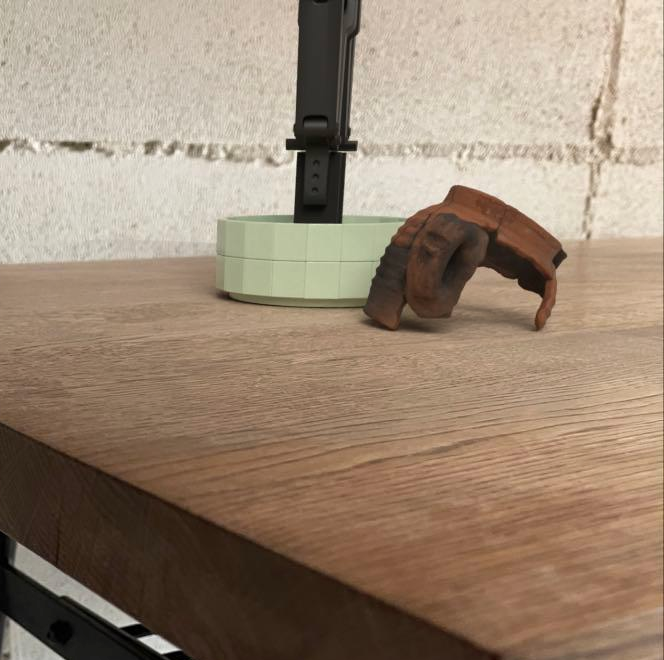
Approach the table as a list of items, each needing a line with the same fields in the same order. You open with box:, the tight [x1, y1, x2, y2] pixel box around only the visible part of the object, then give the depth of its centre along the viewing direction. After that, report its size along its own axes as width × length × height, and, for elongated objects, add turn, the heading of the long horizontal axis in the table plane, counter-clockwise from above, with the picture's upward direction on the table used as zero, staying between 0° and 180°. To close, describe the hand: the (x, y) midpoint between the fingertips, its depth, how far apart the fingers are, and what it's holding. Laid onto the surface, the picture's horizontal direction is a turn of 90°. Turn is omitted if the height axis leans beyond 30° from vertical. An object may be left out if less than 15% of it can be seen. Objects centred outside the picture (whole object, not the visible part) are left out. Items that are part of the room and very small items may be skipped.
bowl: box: [214, 214, 409, 308], centre depth 74 cm, size 13×13×5 cm
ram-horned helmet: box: [362, 184, 568, 331], centre depth 60 cm, size 12×10×8 cm
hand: (316, 256), depth 74 cm, fingers closed on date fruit, 3 cm apart
